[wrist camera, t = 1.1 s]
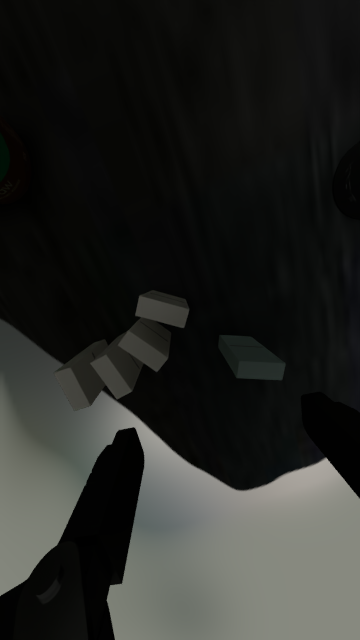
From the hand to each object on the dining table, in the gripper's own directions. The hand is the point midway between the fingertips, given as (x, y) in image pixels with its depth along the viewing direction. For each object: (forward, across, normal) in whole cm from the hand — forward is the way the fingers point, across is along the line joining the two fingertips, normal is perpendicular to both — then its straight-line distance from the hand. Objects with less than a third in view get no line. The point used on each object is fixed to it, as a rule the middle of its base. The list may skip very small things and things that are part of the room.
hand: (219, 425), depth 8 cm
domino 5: (+19, +6, -4) cm, 20 cm away
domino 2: (+19, -10, -2) cm, 21 cm away
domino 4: (+19, -6, +1) cm, 20 cm away
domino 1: (+19, -14, -2) cm, 24 cm away
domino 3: (+19, -3, +4) cm, 20 cm away
